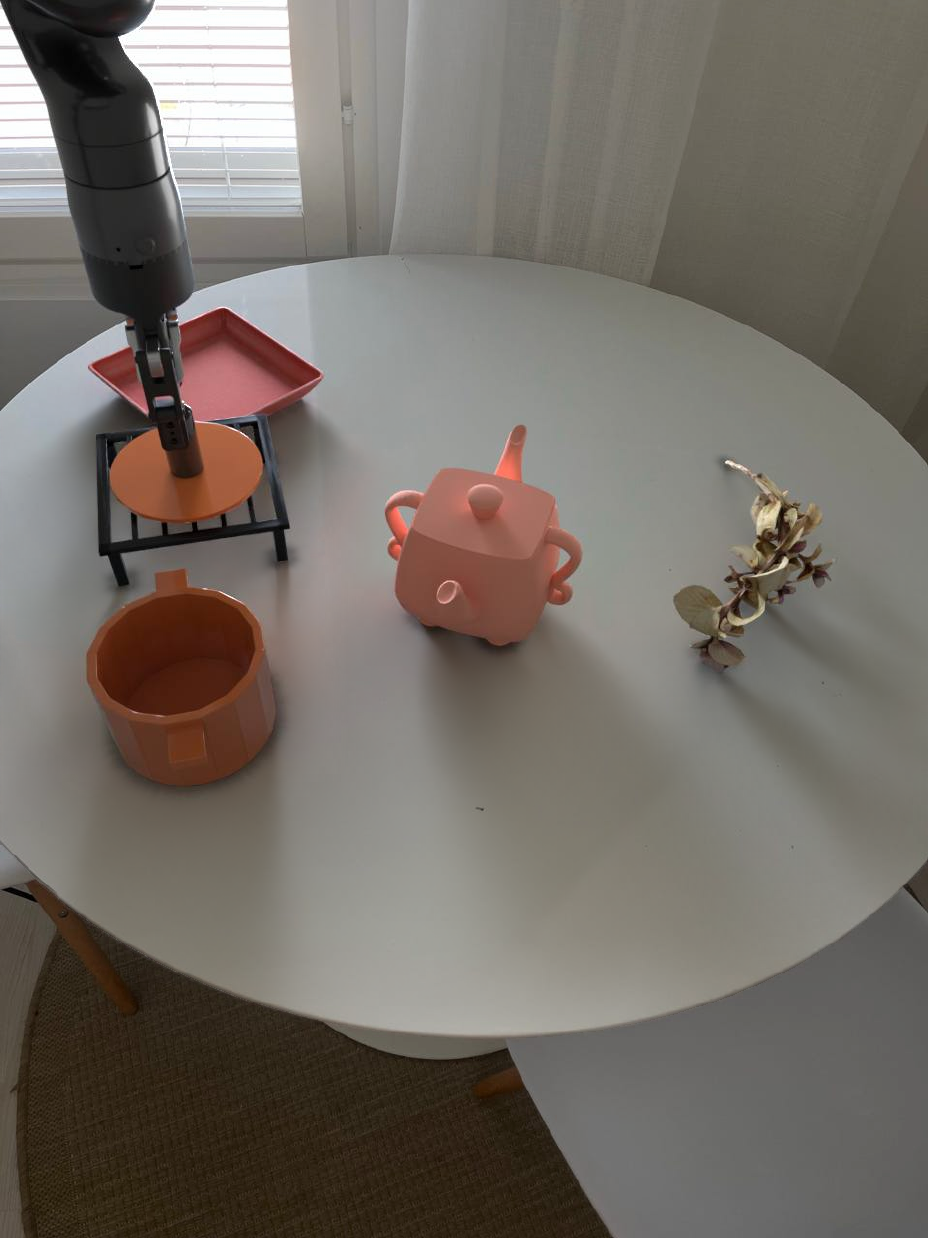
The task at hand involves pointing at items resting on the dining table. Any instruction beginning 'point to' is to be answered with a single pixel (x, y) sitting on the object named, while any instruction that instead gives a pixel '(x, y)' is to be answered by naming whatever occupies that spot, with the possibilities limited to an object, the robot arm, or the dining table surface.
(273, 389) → the plant saucer
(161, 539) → the rack
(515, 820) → the dining table surface
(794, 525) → the artificial flower
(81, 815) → the dining table surface
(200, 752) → the pot
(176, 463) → the lid
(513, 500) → the teapot
